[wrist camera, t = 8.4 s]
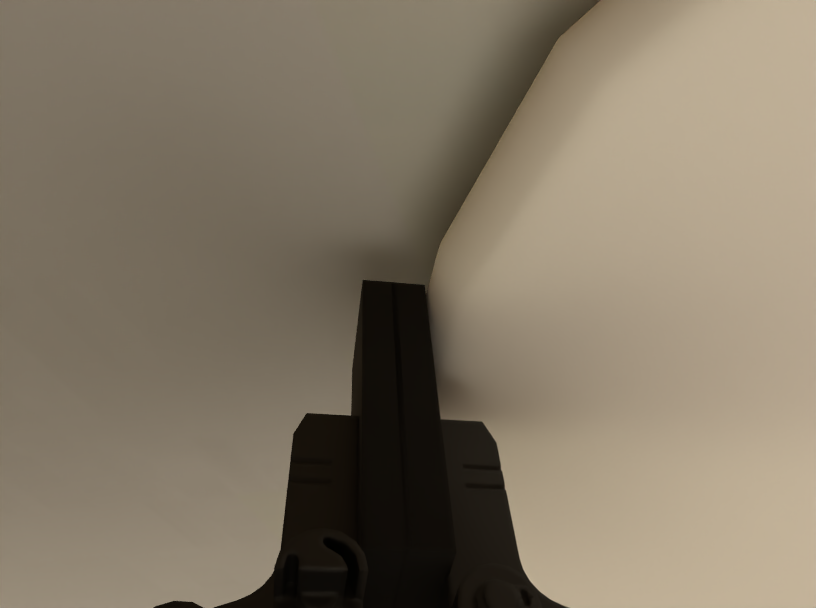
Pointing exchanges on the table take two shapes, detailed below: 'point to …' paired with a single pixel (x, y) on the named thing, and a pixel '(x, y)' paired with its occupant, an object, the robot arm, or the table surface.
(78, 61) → the table surface
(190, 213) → the table surface
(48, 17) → the table surface
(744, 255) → the plate
